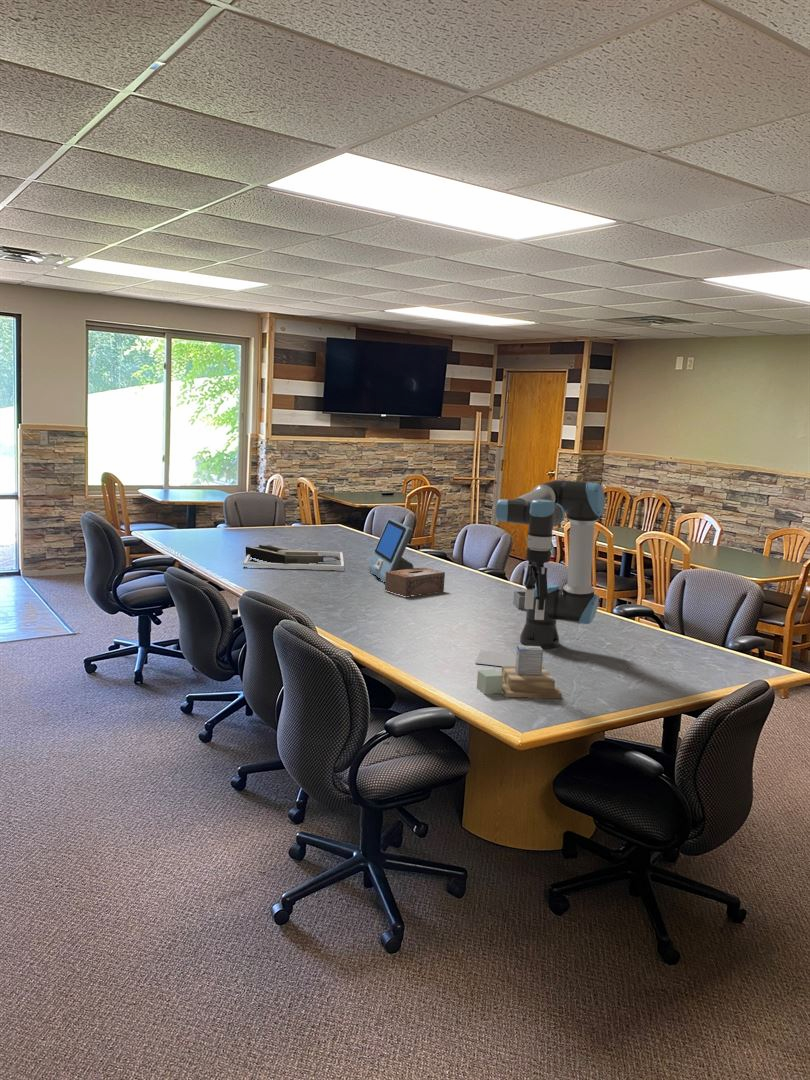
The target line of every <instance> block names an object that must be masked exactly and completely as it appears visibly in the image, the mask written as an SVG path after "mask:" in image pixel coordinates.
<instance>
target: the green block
mask: <svg viewBox="0 0 810 1080" xmlns="http://www.w3.org/2000/svg"><path fill="white" fill-rule="evenodd" d="M476 679H477V680H476V689H477V690H478V691H479V690H480V691H479V692H481V693H482V692H483V693H484V694H483V693H482V694H483V695H485V694H487V695H494V694H493V693H499V694H503V693H502V685H503V675H502V673H500V672H499V671H498V670H496V669H483V670H477V678H476Z"/></svg>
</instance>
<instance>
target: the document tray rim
mask: <svg viewBox="0 0 810 1080" xmlns="http://www.w3.org/2000/svg"><path fill="white" fill-rule="evenodd" d="M312 551H313V552H317V551H318V550H317V551H316V550H312ZM321 552H322V553H321ZM317 553H318V554H324V555H325V554H326V555H328V554H329V555H340V559H341V560H339V563H340V562H341V565H340V564H283V563H259V562H255V561H251V562H248V561H249V559H250V555H249V554H248V555H247V557H246V556H245V558H244V560H243V565H256V566H258V565H259V566H287V567H288V566H290V567H314V568H342V569H344V570H345V565H344V564H345V563H344V555H343V551H321V550H319V551H318V552H317Z"/></svg>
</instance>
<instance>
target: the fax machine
mask: <svg viewBox="0 0 810 1080" xmlns="http://www.w3.org/2000/svg"><path fill="white" fill-rule="evenodd" d="M313 551H314V550H298V549H293V548H289V547H283V546H279V545H274V544H259V545H258V546H245V557H246V556H247V555H248V554H249V555H250V557H252V558H256V559H259V560H263V561H267V562H271V563H283V564H309V563H318V562H323V563H324V562H331V560H324V557H323V556H321V555H318V553H317V552H318V550H317V552H313ZM321 553H322V552H321ZM328 555H329V554H328ZM331 556H332V555H331ZM332 558H334V559H335V560H333V562H336V561H340V560H341V559H340V558H339V557H338V558H337V557H335V556H333V557H332Z"/></svg>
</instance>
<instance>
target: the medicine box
mask: <svg viewBox="0 0 810 1080" xmlns="http://www.w3.org/2000/svg"><path fill="white" fill-rule="evenodd" d="M543 649H544V648H541V647H540V646H527V645H517V646H516V653H515V654H516V665H515V671H516V673H517V675H541V674H542V667H543V662H544V660H543V659H544V650H543Z"/></svg>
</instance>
